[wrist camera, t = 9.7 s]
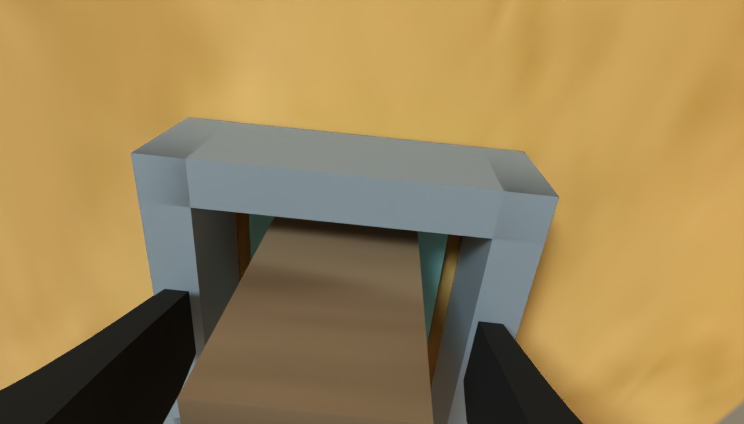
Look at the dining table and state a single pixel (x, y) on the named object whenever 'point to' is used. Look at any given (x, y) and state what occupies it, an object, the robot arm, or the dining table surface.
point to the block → (319, 333)
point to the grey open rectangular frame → (344, 218)
